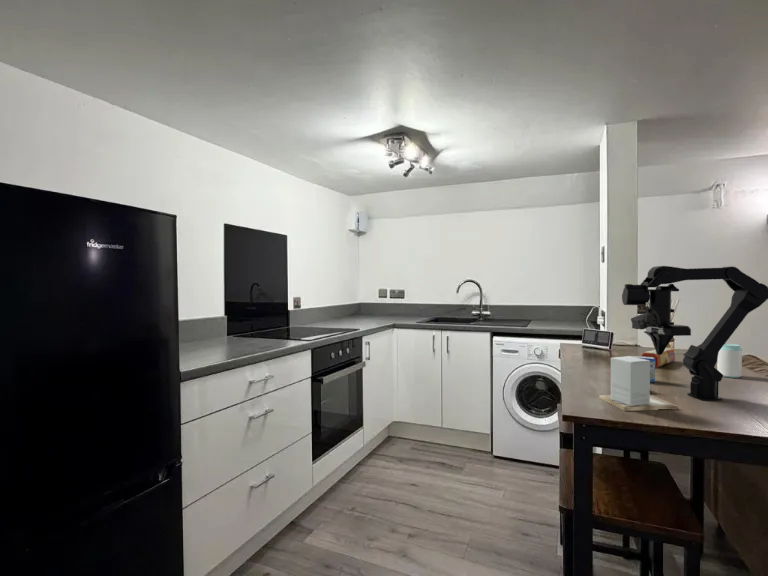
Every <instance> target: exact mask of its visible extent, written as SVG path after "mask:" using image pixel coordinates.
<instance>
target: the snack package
mask: <svg viewBox="0 0 768 576" xmlns="http://www.w3.org/2000/svg"><path fill="white" fill-rule="evenodd" d="M675 353H676V352H675V350H674V349H673V348H671V347H666V348H665V350H664V352H663V353H662V355H658V354H657V353H656V350H655V349H652V350H649V351H644V352H643V353H642V354H641V355H640V356H641V357H653V358H654V359H655V369H657V368H659V367H662V366H664V365H667V364H670V363H673V362H675V359H676V355H675Z"/></svg>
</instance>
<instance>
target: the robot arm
mask: <svg viewBox="0 0 768 576" xmlns="http://www.w3.org/2000/svg"><path fill="white" fill-rule="evenodd" d="M702 280H704V281H705V280H722V281H724V282H725V284H726V285H727V286H728V288H730V289H731V290H732V291H733V294H732V297H731V302H730V306H729V307H728V309H727V310H726V312H724V314H723V315H722V317H721V318H720V319H719V320H718V322H717V323H716V324H715V326H714V327H713V328H712V330H711V331H710V332H709V334H708V335H707V336H706V338H705V339H704V340H703V341H702V342H701V343H700V344H699V345H697V346H696V345H693V344H691V345H690V346H689V347H688V350H687V351H686V352H684V353H683V354H682V355H683V356H684V357H683V359H682V362H683V366H684V367H685V369H687V370H688V372H689V374H690V375H691V381H690V384H689V385H690V388H689V389H690V392H687V395H688V396H690V397H693V398H695V399H699V400H701V401H722V400H724V399H723V397H720V396H719V383H720V382H721V381H722V379H723V378H724V377H723V375H722V374H721V373H720V372H719V371H718V370H717V368H715V366H716V365H717V364H718V353H719V351H720V349H721V348H722V347H723V345H724V344H727V341H728V340H729V339H730V338H731V337H732V336H733V334H734V333H735V331H736V330H737V329H738V327H739V326H740V324H741V323H742V322H743V321H744V319H745V318H746V317H747V316H748V314H750V313H751V312H752V311H754V310H756V309H758V308H760V307H761V306H762V305H764V303H765V302H766V301H767V300H768V286H767V285H766V284H764V283H762V282H761V283H760V282H758V280H756V279H754V278H753V277H751V276H750V275H747V274H746V273H744V272H743V271H742V270H740V269H739V268H738V267H736V266H722V267H705V268H704V267H703V268H702V267H700V268H699V267H698V268H683V267H679V266H678V267H677V266H676V267H675V266H669V265H657V266H653V267H651V268H650V269H649V270H648V271H647V276H646V277H645V279H644V280H642V282H641V283H640V284H632V283H625V284H624V288H623V291H622V294H621V301H622V304H623V305H624V306H645V305H646V304H647V303H649V304H648V305H649V306H648V307H646V308H645V310H644V312H645V313H642V314H639V315H636V316H633V317H631V318H630V322H631V329H635V330H645V331H643V332H644V334H646V335H648V336H649V337H650V339H651V342H652V345H653V347H654V350H656V353H657V354H658V355H662V353H663V352H664V350H665V348H668V347H667V346H668V345H669V343H670V342H671V341H672V340H673V338H674V337H677V336H678V337H679V336H681V337H683V336H684V337H685V336H686V337H687V336H689V337H690V336H691V335H692V329H691V327H690V326H688V325H683V324H675V322H674V321H671V320H672V319H671V318H672V317H671V316H672V315H671V313H675V309H674V308H672V292H679V291H680V289H679V288H678V287H677V286H675V284H674V283H679V282H683V281H702ZM649 288H651V289H649ZM652 288H655V289H652Z"/></svg>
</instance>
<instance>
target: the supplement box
mask: <svg viewBox="0 0 768 576" xmlns="http://www.w3.org/2000/svg"><path fill="white" fill-rule="evenodd" d="M631 356H632V355H627V356H625V355H624V356H616V357H610V395H611V399H612V400H615V401H618V402H621V403H624V404H627V405H630V406H634V405H643V404H649V403H650V395H651V393H650V392H651V389H650V388H651V382H650V360H645V359H640V358H635V357H631Z"/></svg>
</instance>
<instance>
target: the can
mask: <svg viewBox="0 0 768 576" xmlns="http://www.w3.org/2000/svg"><path fill="white" fill-rule="evenodd" d="M740 346H741V345H739V344H735V343H725V344H724V345H723V347H722V348H721V349H720V351H719V353H718V359H717V363H716V365H717V368H716V369H717V370H718V371H719V372H720V373H721V374H722V375H723V377H722V378H728V379H739V378H741V377H742V372H743V371H742V368H743V364H742V363H743V349H742V348H741V347H740Z"/></svg>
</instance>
